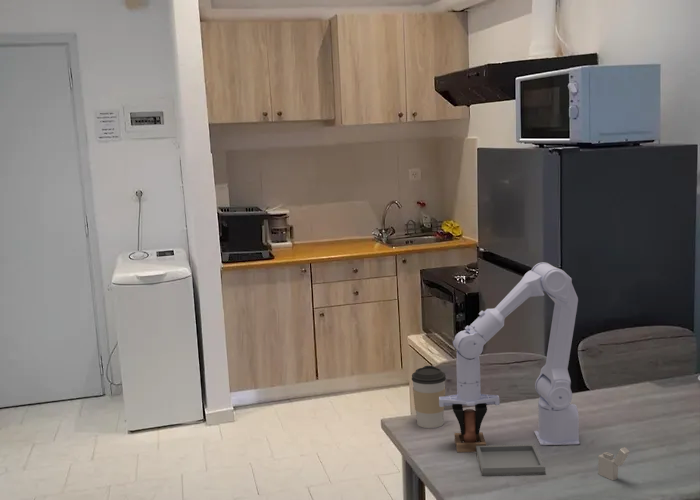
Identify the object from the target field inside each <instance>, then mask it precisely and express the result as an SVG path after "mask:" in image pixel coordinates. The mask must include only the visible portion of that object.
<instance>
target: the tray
mask: <svg viewBox="0 0 700 500" xmlns="http://www.w3.org/2000/svg"><path fill="white" fill-rule="evenodd" d="M475 453H476V457H477V462H478V464H479V468H480V472H481V475H482V476H483V477H484V476H485V477H486V476H487V477H488V476H489V477H491V476H492V477H495V476H530V475H533V476H535V475H539V476H540V475H546V466H545V463H544V460H543V459H542V456H541V455H540V453H539V451H538V448H537V446H536V445H535V444H505V445H504V444H497V445H494V444H493V445H486V446H476V452H475Z"/></svg>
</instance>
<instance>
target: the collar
mask: <svg viewBox="0 0 700 500" xmlns="http://www.w3.org/2000/svg"><path fill="white" fill-rule="evenodd" d="M453 435H454V445H455V449H456V452H457V453H476V446H487V442H486V439H485V436H484V434H483V432H481V431H479V434H476V442H473V443H464V435H461V432H454V434H453Z"/></svg>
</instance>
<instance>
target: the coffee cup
mask: <svg viewBox="0 0 700 500" xmlns="http://www.w3.org/2000/svg"><path fill="white" fill-rule="evenodd" d="M446 379H447V378H446V373H445V372H443V371H442V370H441V368H438V367H436V366H434V365H425V366H422V367H420V368H417V369H416V370H415V372H413V373H412V375H411V381H412V392H413V401H414V402H413V403H414V410H415V414H416V424H417V425H418V426H419V427H420V428H425V429H435V428H440V427H442V426H443V425H444V410H445V406H444V407H440V406H439V397H443V396H446Z"/></svg>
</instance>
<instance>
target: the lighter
mask: <svg viewBox="0 0 700 500" xmlns="http://www.w3.org/2000/svg"><path fill="white" fill-rule="evenodd" d="M630 453H631V452H630V450H629V449H628V448H627V447H626V446H625V447H621V448H620V449H619V450H618V452H617V454H616V456H615V458H614V454H613V453H610V452H607V451H606V452H602V454H599V455H597V456H598V458H597V459H598V461H597V463H598V464H597V466H598V467H597V468H598V469H597V470H598V471H597V474H598V475H600V476H602V477H604V478H606V479H609V480H610V481H615V480H618V479H619V467H621V466H622V465H624V463H626V462H625V461H626V460H627V458H628V457H629V454H630Z"/></svg>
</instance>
